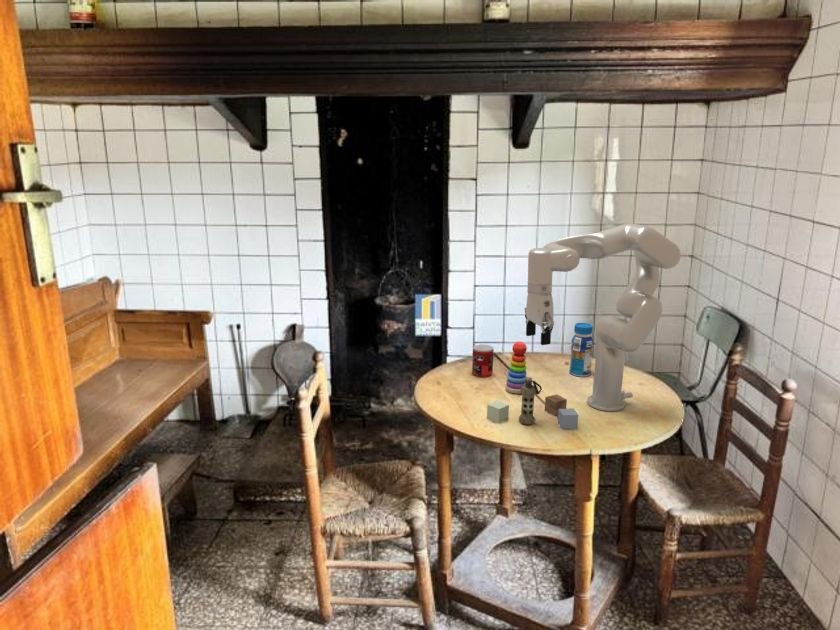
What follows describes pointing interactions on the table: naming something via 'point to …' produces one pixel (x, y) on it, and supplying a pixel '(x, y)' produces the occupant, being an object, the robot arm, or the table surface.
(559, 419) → the slate blue cube
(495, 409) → the sage cube
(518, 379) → the stacking toy
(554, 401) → the walnut cube
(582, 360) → the beverage bottle
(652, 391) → the table surface
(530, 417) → the grenade model
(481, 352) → the canned food
